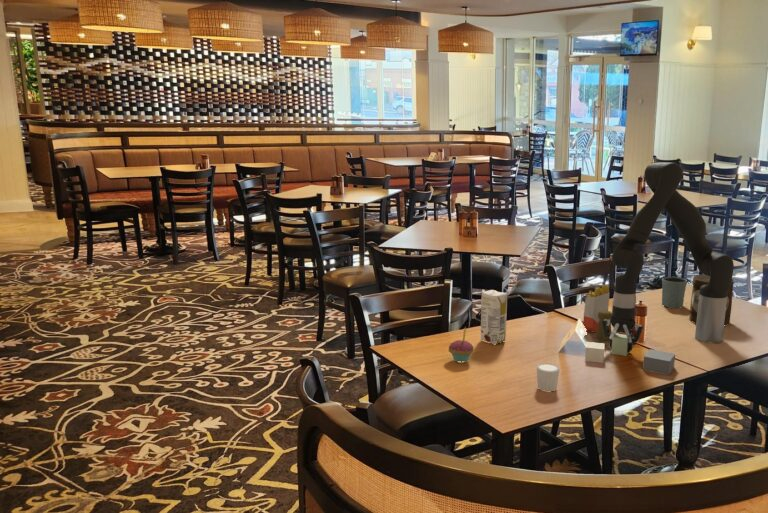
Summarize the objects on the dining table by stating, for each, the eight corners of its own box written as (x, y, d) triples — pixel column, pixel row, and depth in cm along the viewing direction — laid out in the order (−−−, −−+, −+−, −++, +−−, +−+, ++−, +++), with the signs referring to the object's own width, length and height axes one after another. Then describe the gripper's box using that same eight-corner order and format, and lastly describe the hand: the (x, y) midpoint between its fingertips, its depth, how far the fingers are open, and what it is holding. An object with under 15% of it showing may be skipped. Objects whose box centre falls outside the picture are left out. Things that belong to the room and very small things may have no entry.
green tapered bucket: (663, 308, 280) (665, 281, 277) (657, 301, 290) (659, 276, 287) (687, 309, 278) (690, 282, 276) (681, 302, 288) (683, 276, 286)
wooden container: (686, 323, 259) (692, 270, 255) (691, 313, 272) (696, 263, 267) (728, 329, 252) (734, 275, 247) (730, 319, 264) (736, 267, 259)
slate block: (648, 362, 219) (650, 349, 218) (673, 368, 214) (675, 353, 213) (642, 370, 212) (643, 356, 211) (668, 375, 208) (669, 361, 207)
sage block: (615, 349, 231) (616, 333, 230) (629, 351, 229) (630, 335, 227) (611, 353, 227) (612, 337, 226) (625, 356, 225) (627, 339, 223)
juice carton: (495, 346, 235) (497, 296, 231) (477, 340, 241) (478, 292, 237) (508, 341, 240) (510, 293, 236) (490, 336, 246) (491, 288, 242)
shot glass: (532, 384, 202) (533, 363, 200) (553, 383, 202) (555, 362, 201) (539, 393, 195) (540, 372, 193) (561, 392, 196) (562, 371, 194)
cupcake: (459, 354, 227) (459, 322, 225) (478, 360, 222) (479, 327, 219) (443, 360, 222) (443, 327, 219) (462, 367, 216) (463, 333, 213)
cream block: (585, 355, 226) (586, 341, 225) (603, 357, 224) (604, 343, 223) (585, 361, 221) (585, 347, 220) (603, 363, 219) (604, 349, 218)
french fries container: (581, 331, 251) (584, 287, 247) (596, 325, 258) (599, 282, 254) (592, 334, 247) (595, 289, 243) (607, 328, 254) (610, 284, 250)
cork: (613, 342, 238) (615, 314, 236) (596, 341, 240) (598, 313, 237) (610, 336, 244) (612, 309, 242) (594, 335, 245) (596, 308, 243)
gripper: (648, 304, 223) (644, 350, 227) (606, 298, 231) (603, 343, 235) (643, 310, 217) (639, 357, 221) (600, 303, 225) (597, 349, 229)
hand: (620, 349), depth 228 cm, fingers closed on sage block, 5 cm apart
